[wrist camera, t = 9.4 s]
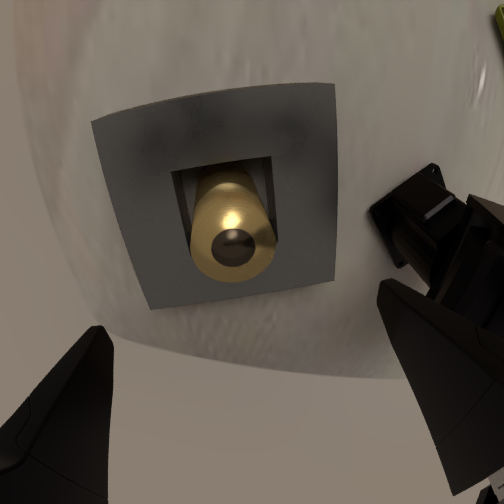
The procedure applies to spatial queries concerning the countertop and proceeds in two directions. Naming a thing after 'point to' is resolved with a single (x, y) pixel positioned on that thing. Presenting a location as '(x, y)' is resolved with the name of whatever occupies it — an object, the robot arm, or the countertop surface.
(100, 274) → the countertop surface
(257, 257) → the bushing
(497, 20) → the olive piece
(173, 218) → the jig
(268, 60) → the countertop surface
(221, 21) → the countertop surface
